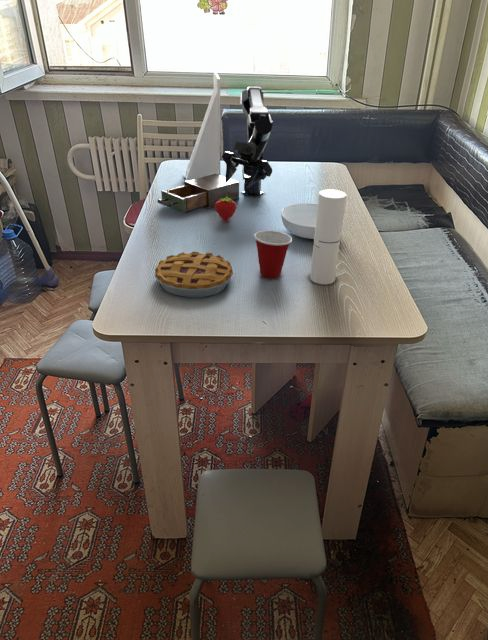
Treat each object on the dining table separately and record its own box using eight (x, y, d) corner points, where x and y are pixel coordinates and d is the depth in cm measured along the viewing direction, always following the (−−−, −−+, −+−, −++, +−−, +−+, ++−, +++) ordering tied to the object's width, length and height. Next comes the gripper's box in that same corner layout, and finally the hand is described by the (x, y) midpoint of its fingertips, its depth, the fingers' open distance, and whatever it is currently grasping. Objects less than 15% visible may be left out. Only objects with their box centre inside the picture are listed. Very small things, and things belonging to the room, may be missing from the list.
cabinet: (208, 208, 196) (208, 190, 192) (185, 199, 203) (184, 181, 199) (238, 198, 206) (239, 181, 202) (215, 190, 213) (215, 173, 209)
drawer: (174, 216, 186) (173, 202, 183) (152, 207, 192) (151, 193, 189) (214, 203, 198) (214, 190, 195) (193, 195, 204) (192, 182, 201)
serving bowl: (267, 232, 180) (268, 212, 176) (305, 217, 193) (307, 199, 189) (315, 251, 168) (317, 231, 164) (352, 234, 181) (355, 215, 177)
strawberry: (214, 218, 188) (214, 190, 182) (236, 218, 189) (236, 190, 183) (214, 224, 183) (214, 196, 178) (236, 224, 184) (237, 196, 178)
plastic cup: (297, 275, 154) (300, 236, 148) (272, 286, 148) (274, 247, 141) (269, 262, 160) (271, 225, 153) (244, 273, 154) (245, 234, 147)
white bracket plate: (183, 172, 230) (179, 69, 207) (216, 172, 232) (216, 70, 209) (185, 187, 214) (180, 77, 191) (220, 187, 216) (220, 78, 193)
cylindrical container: (327, 286, 149) (339, 200, 135) (305, 279, 152) (314, 194, 138) (338, 277, 154) (350, 193, 140) (317, 270, 157) (326, 187, 143)
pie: (163, 262, 157) (162, 246, 155) (236, 266, 157) (236, 250, 155) (147, 298, 140) (146, 281, 137) (230, 302, 140) (230, 285, 137)
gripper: (225, 126, 181) (204, 166, 180) (269, 136, 173) (248, 177, 172) (238, 146, 191) (219, 183, 190) (281, 156, 183) (261, 195, 181)
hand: (236, 184), depth 183 cm, fingers open, 9 cm apart
